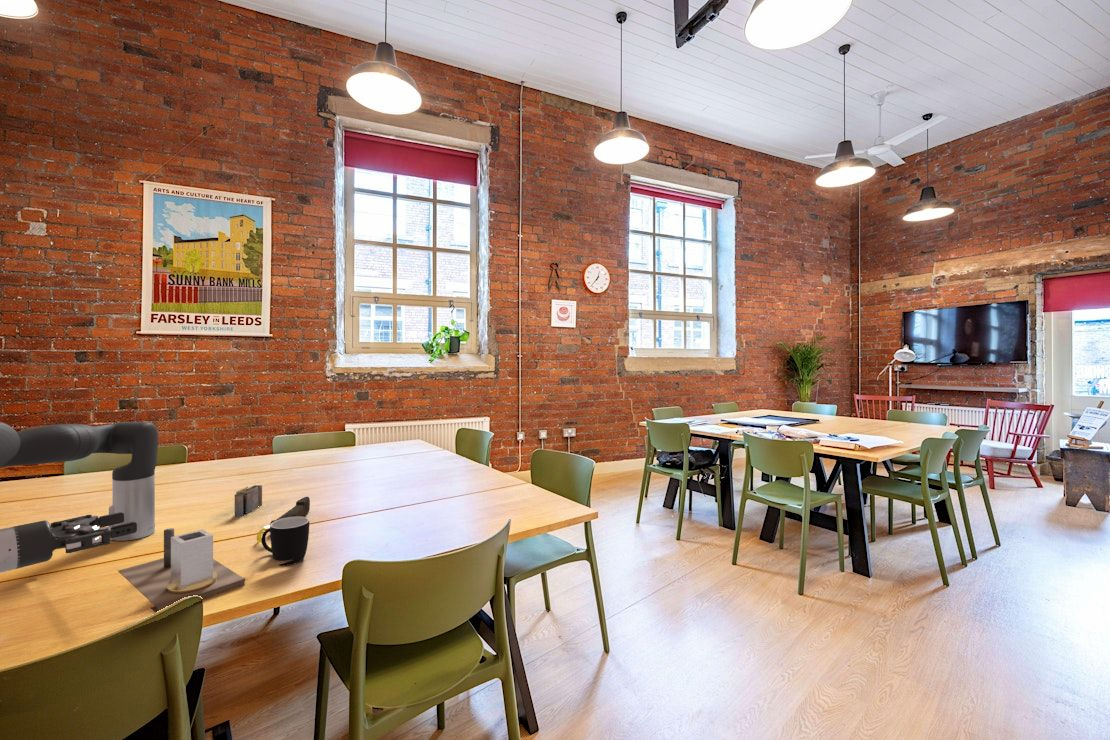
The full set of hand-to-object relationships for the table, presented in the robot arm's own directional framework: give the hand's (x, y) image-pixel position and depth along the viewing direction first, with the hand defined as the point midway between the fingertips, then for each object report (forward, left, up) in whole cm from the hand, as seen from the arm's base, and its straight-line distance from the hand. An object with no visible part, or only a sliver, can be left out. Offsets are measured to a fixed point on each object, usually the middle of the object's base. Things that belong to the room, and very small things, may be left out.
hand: (129, 521), depth 97 cm
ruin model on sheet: (+4, +65, -19) cm, 68 cm away
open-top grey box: (+9, +6, -16) cm, 20 cm away
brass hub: (+9, +6, -17) cm, 20 cm away
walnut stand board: (+4, +12, -19) cm, 23 cm away
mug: (+25, +18, -19) cm, 36 cm away
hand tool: (+21, +49, -19) cm, 57 cm away
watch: (+19, +28, -19) cm, 39 cm away
